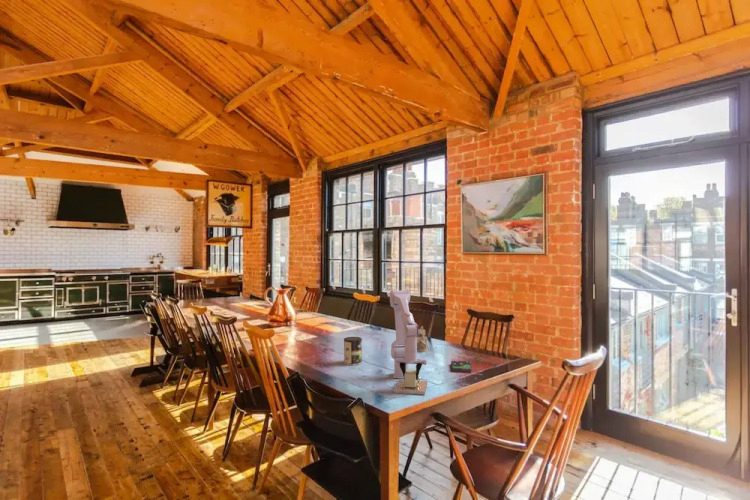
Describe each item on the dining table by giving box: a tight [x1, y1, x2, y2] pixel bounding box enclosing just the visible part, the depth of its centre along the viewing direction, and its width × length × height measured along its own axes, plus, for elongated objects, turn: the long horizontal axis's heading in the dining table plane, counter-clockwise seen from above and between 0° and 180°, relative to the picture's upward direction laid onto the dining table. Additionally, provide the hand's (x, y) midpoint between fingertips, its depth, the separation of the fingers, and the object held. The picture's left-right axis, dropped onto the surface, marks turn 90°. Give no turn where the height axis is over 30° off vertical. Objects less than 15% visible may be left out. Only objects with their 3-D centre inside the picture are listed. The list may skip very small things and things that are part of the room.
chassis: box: [393, 376, 428, 396], centre depth 195 cm, size 15×14×4 cm
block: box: [405, 368, 418, 388], centre depth 195 cm, size 8×5×6 cm, turn 168°
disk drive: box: [450, 360, 472, 374], centre depth 228 cm, size 10×3×15 cm
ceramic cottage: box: [416, 325, 430, 353], centre depth 271 cm, size 16×16×15 cm
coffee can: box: [343, 336, 363, 366], centre depth 240 cm, size 10×10×14 cm
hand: (411, 379), depth 195 cm, fingers closed on block, 5 cm apart
